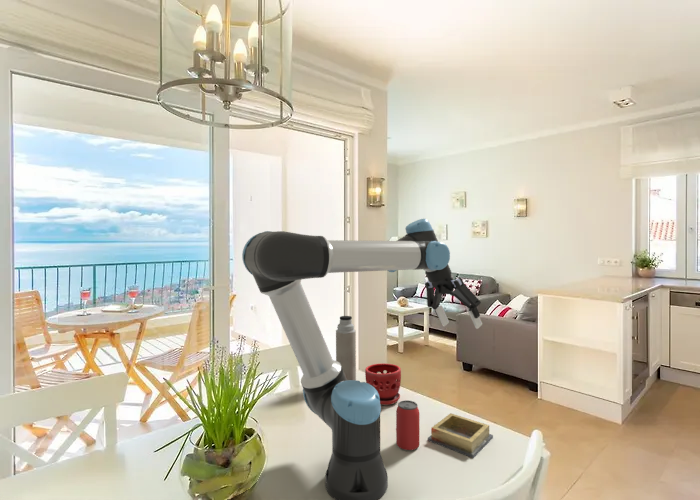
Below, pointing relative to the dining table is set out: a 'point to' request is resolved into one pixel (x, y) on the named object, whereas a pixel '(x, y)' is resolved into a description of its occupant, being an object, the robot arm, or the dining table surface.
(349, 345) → the thermos bottle
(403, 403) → the beer can
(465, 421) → the frame
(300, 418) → the dining table surface
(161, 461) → the dining table surface
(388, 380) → the plant pot
